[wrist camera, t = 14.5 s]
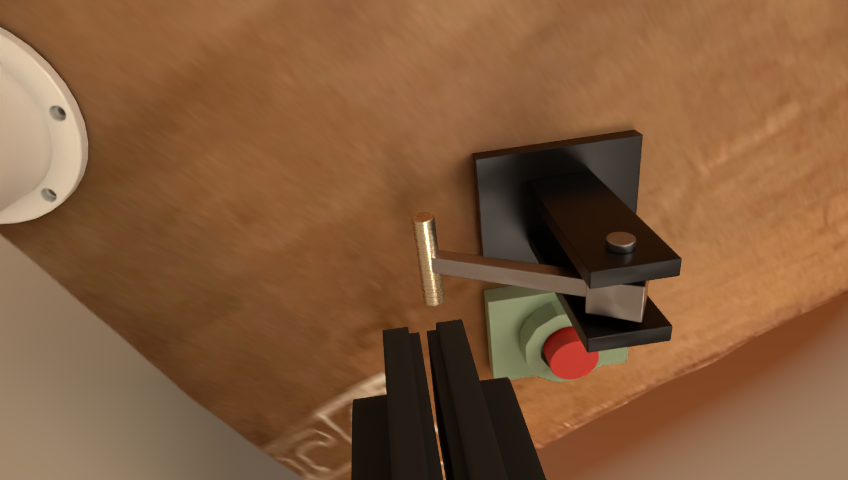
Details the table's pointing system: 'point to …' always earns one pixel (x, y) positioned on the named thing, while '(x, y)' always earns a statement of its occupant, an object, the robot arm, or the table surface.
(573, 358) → the button
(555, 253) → the bracket
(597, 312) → the lever
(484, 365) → the table surface
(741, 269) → the table surface
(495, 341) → the button box
